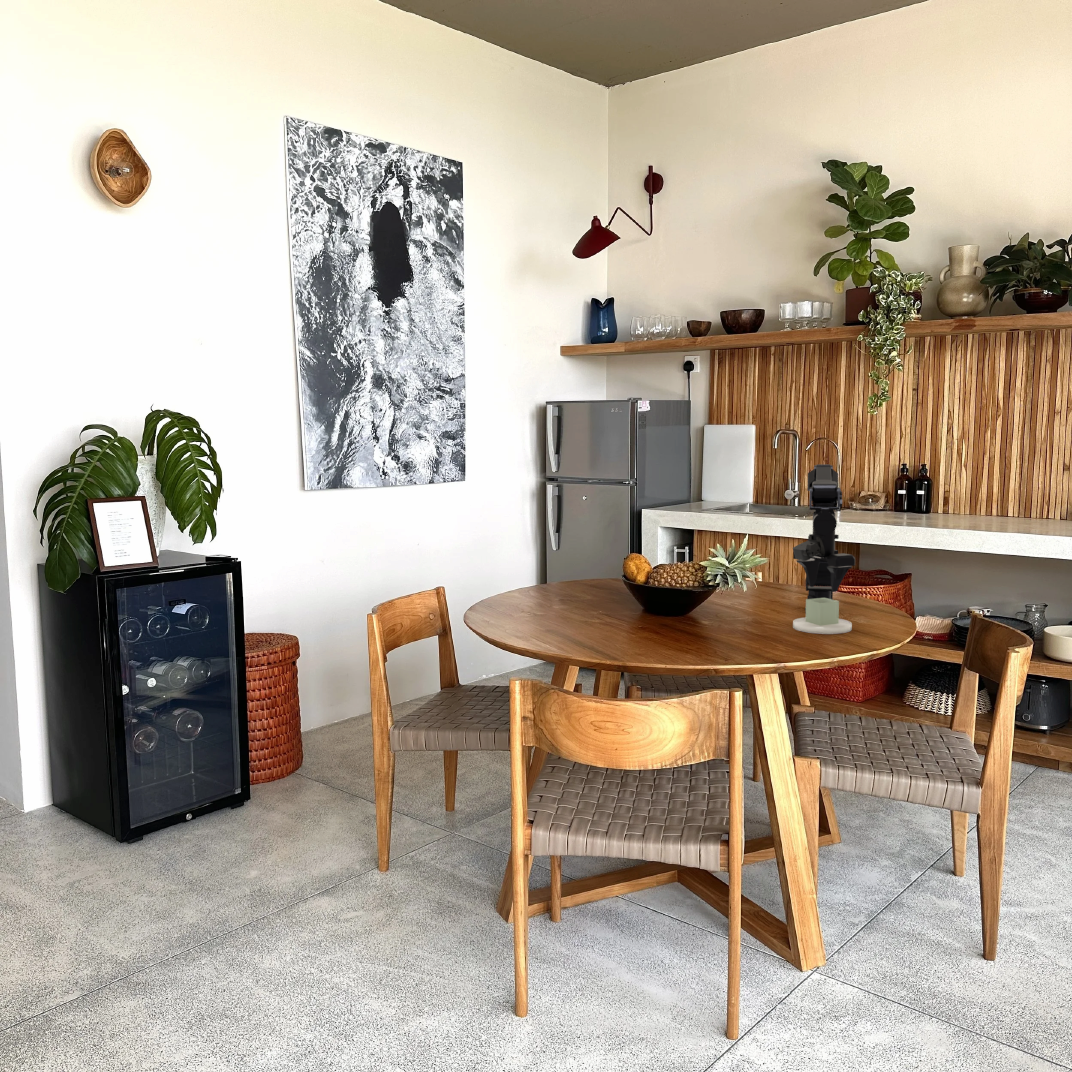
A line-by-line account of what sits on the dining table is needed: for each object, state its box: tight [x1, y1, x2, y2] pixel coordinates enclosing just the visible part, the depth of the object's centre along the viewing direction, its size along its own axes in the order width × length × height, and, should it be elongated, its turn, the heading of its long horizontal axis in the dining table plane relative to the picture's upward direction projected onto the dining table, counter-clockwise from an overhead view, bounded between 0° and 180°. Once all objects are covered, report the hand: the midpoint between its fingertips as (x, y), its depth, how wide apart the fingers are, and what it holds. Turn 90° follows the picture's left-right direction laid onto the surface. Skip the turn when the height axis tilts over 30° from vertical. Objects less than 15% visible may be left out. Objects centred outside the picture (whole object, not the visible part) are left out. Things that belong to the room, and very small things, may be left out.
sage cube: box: [805, 598, 840, 625], centre depth 259 cm, size 6×6×6 cm
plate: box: [792, 616, 853, 635], centre depth 259 cm, size 15×15×2 cm
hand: (822, 589), depth 258 cm, fingers open, 9 cm apart
